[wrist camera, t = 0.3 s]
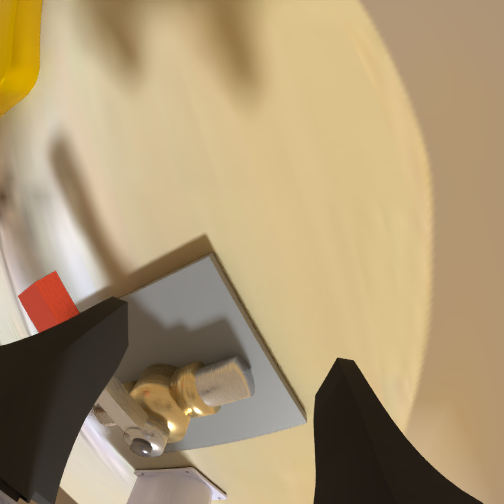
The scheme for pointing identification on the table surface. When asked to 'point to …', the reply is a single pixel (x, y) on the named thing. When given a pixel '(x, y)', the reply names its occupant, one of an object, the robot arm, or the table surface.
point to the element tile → (18, 50)
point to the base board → (206, 351)
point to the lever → (114, 395)
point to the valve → (187, 392)
